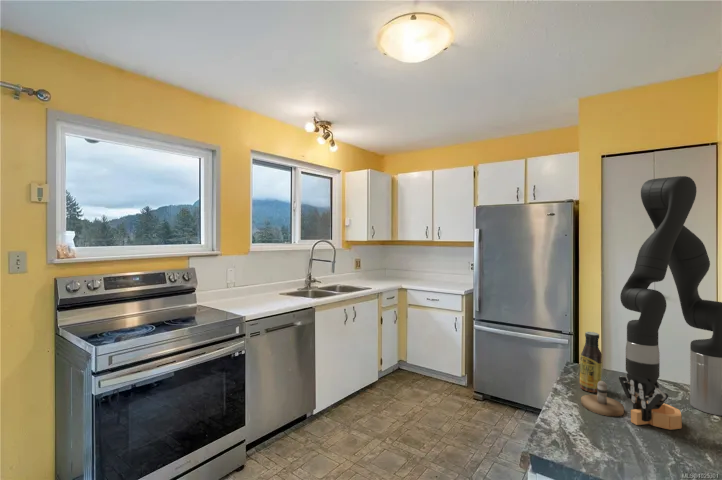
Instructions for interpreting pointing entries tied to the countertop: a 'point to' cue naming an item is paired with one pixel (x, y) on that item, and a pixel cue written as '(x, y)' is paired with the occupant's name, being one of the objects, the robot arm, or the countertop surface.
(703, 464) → the countertop surface
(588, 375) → the sauce bottle
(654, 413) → the ring
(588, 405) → the round wooden base
